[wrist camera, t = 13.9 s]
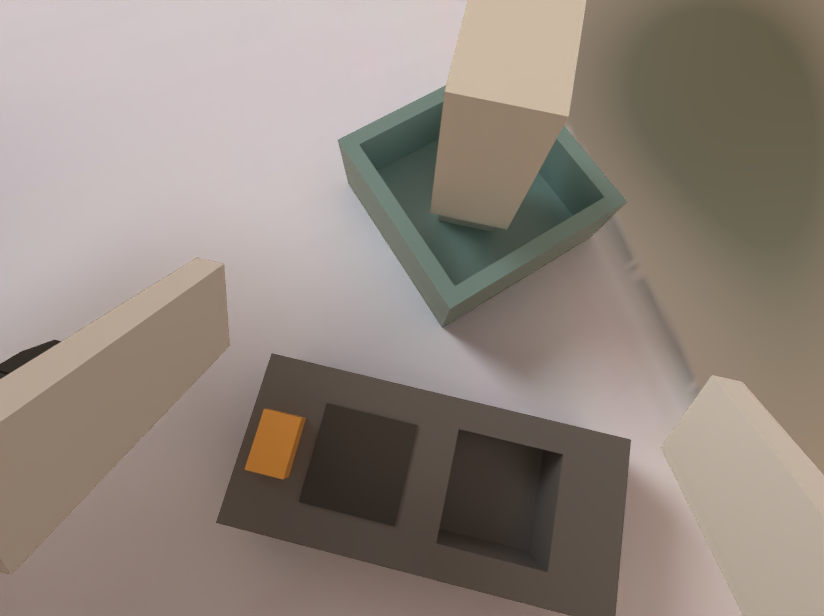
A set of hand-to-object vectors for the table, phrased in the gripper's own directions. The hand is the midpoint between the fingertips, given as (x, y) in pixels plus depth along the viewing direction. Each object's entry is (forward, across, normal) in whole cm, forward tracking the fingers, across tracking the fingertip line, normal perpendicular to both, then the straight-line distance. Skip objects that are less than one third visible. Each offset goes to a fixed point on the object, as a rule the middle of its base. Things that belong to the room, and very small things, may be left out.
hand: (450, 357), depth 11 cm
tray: (+15, 0, 0) cm, 15 cm away
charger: (+15, 0, +1) cm, 15 cm away
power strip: (+5, +1, -10) cm, 12 cm away
